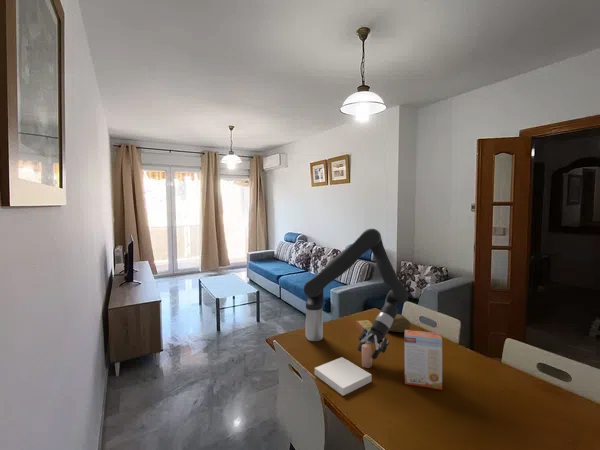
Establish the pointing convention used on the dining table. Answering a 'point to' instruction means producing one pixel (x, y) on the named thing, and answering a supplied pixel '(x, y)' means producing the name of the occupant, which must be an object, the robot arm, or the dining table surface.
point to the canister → (366, 355)
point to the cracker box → (423, 359)
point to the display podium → (343, 375)
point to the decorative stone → (400, 324)
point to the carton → (363, 325)
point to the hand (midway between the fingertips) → (365, 354)
